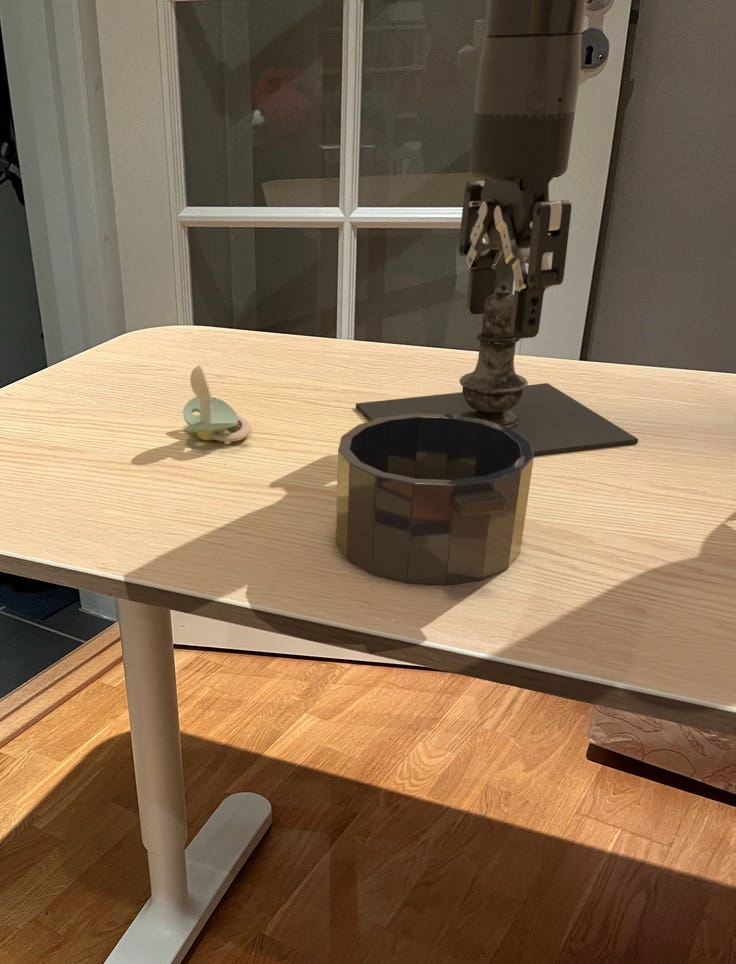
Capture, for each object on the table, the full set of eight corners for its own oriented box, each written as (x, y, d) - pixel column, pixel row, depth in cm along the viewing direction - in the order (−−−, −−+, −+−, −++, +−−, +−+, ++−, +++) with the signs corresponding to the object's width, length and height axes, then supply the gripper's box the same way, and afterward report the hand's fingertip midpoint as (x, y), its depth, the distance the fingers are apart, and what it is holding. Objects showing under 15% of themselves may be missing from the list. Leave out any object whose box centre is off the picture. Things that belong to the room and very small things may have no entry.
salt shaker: (456, 407, 87) (469, 272, 81) (521, 410, 86) (539, 273, 80) (455, 430, 83) (467, 288, 76) (523, 433, 81) (542, 289, 75)
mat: (547, 386, 93) (547, 382, 93) (637, 443, 80) (638, 438, 80) (355, 407, 89) (355, 403, 89) (417, 470, 76) (417, 465, 76)
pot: (464, 486, 73) (473, 399, 69) (563, 580, 60) (581, 480, 57) (310, 506, 71) (310, 417, 67) (379, 607, 58) (384, 504, 54)
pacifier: (245, 419, 88) (182, 421, 87) (245, 352, 84) (179, 354, 84) (256, 447, 82) (187, 450, 81) (256, 376, 78) (185, 379, 78)
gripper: (620, 109, 66) (583, 342, 75) (526, 99, 77) (503, 302, 86) (522, 114, 64) (496, 351, 73) (441, 103, 76) (427, 308, 85)
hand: (500, 324), depth 80 cm, fingers open, 8 cm apart
